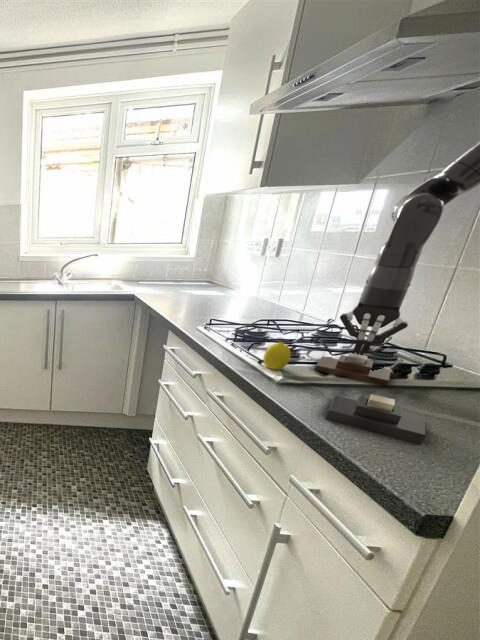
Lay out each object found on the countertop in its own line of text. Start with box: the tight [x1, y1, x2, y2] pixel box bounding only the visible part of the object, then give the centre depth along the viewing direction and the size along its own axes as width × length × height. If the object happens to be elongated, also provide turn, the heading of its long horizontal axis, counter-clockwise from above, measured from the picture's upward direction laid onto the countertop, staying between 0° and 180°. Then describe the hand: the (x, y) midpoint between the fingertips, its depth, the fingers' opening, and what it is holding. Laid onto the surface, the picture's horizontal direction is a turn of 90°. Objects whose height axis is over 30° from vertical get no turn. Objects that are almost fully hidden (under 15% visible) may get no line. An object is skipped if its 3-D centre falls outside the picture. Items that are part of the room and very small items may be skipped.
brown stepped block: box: [314, 354, 392, 386], centre depth 107 cm, size 14×10×4 cm
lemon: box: [263, 341, 291, 370], centre depth 109 cm, size 6×6×8 cm
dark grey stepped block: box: [324, 395, 426, 446], centre depth 84 cm, size 14×10×4 cm
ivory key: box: [367, 393, 396, 412], centre depth 83 cm, size 4×4×2 cm
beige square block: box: [346, 352, 368, 365], centre depth 106 cm, size 4×4×2 cm
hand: (359, 354), depth 106 cm, fingers closed
